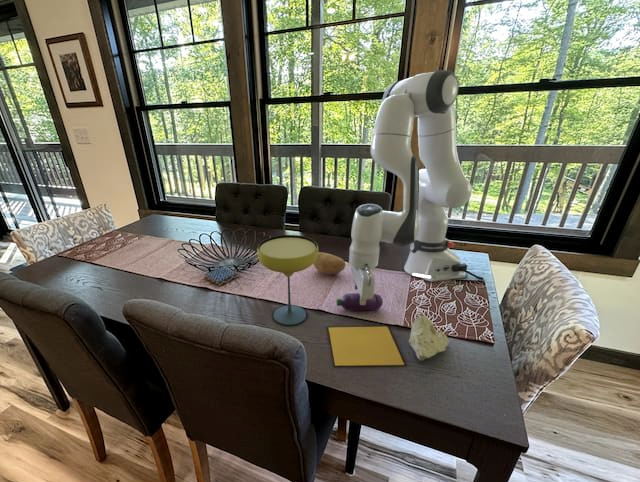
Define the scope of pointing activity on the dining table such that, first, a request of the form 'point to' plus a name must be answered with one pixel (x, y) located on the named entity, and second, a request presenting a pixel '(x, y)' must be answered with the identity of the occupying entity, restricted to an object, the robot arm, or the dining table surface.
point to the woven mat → (221, 275)
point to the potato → (329, 263)
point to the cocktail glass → (288, 267)
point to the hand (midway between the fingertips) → (359, 295)
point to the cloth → (363, 346)
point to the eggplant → (353, 303)
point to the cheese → (426, 339)
